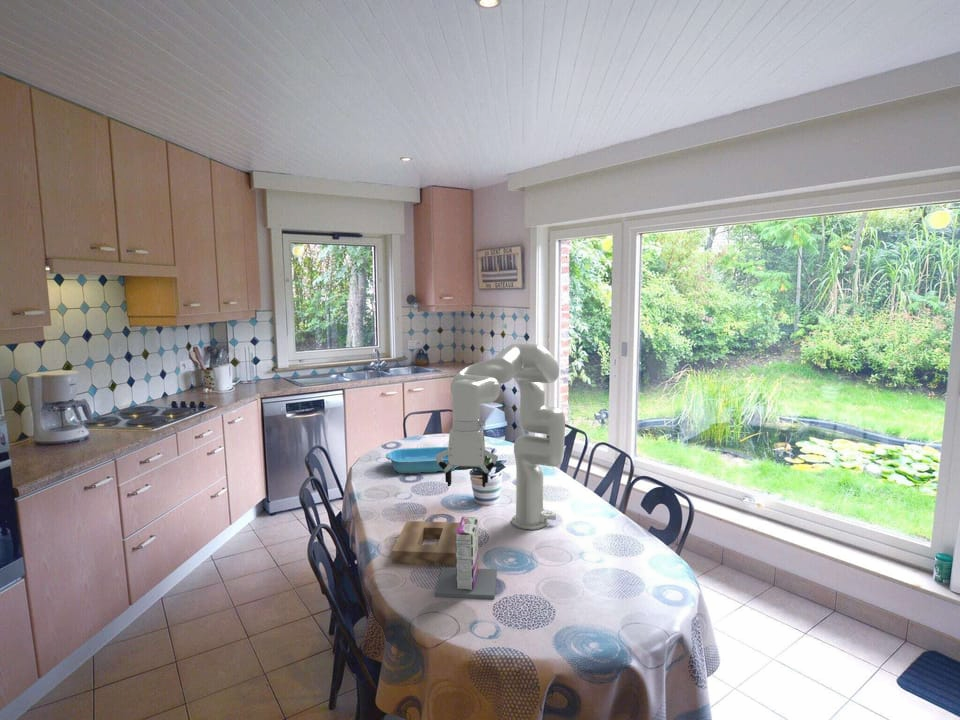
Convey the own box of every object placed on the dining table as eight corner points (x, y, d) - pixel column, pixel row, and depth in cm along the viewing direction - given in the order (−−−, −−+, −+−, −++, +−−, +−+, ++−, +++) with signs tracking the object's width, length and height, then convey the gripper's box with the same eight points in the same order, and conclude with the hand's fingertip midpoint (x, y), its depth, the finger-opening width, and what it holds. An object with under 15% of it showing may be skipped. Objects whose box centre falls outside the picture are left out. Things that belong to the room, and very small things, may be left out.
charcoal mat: (496, 572, 160) (496, 569, 160) (494, 598, 146) (494, 595, 146) (442, 570, 161) (442, 567, 161) (435, 596, 147) (435, 592, 147)
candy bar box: (461, 569, 160) (461, 515, 158) (478, 570, 159) (478, 516, 157) (455, 590, 149) (455, 532, 147) (473, 591, 148) (473, 533, 146)
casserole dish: (459, 458, 273) (459, 444, 272) (468, 472, 251) (468, 457, 250) (384, 463, 264) (384, 448, 264) (387, 478, 243) (386, 462, 242)
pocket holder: (464, 534, 186) (464, 522, 185) (457, 565, 164) (457, 553, 163) (406, 532, 187) (406, 520, 187) (391, 563, 165) (391, 550, 165)
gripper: (498, 422, 153) (498, 481, 155) (437, 421, 154) (437, 479, 156) (497, 428, 145) (497, 490, 147) (433, 427, 146) (433, 489, 149)
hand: (466, 485), depth 152 cm, fingers open, 9 cm apart
